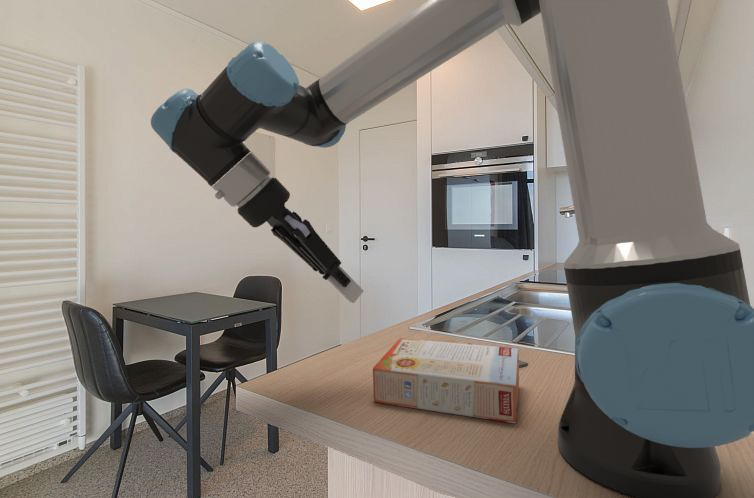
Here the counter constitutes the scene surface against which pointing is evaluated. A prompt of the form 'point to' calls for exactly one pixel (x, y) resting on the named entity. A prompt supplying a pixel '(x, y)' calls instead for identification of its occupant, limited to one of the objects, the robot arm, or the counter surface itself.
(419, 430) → the counter surface
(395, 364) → the cracker box
